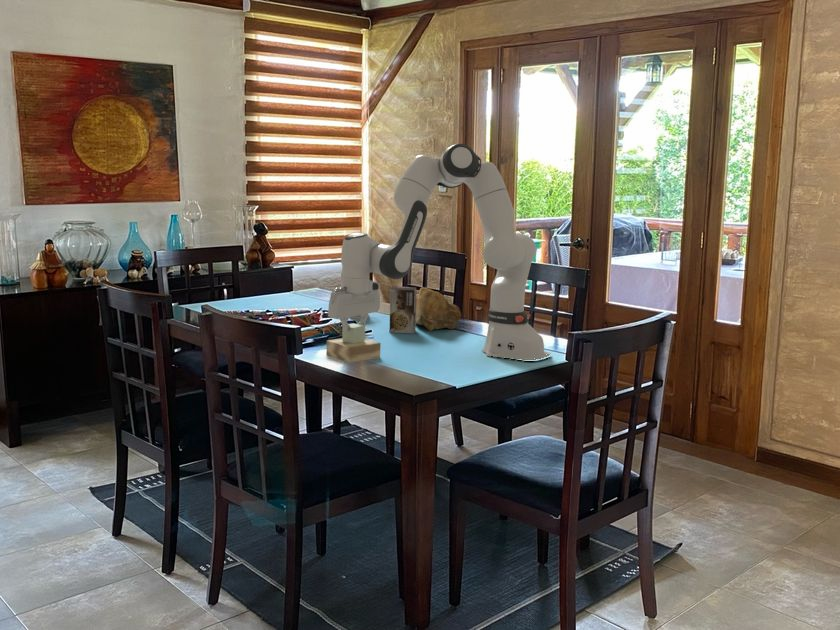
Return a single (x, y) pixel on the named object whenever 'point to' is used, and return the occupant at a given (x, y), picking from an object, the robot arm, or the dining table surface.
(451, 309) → the rough brown rock
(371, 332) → the dining table surface
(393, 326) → the coffee box
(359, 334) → the sage cube
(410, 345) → the dining table surface
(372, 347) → the maple block
